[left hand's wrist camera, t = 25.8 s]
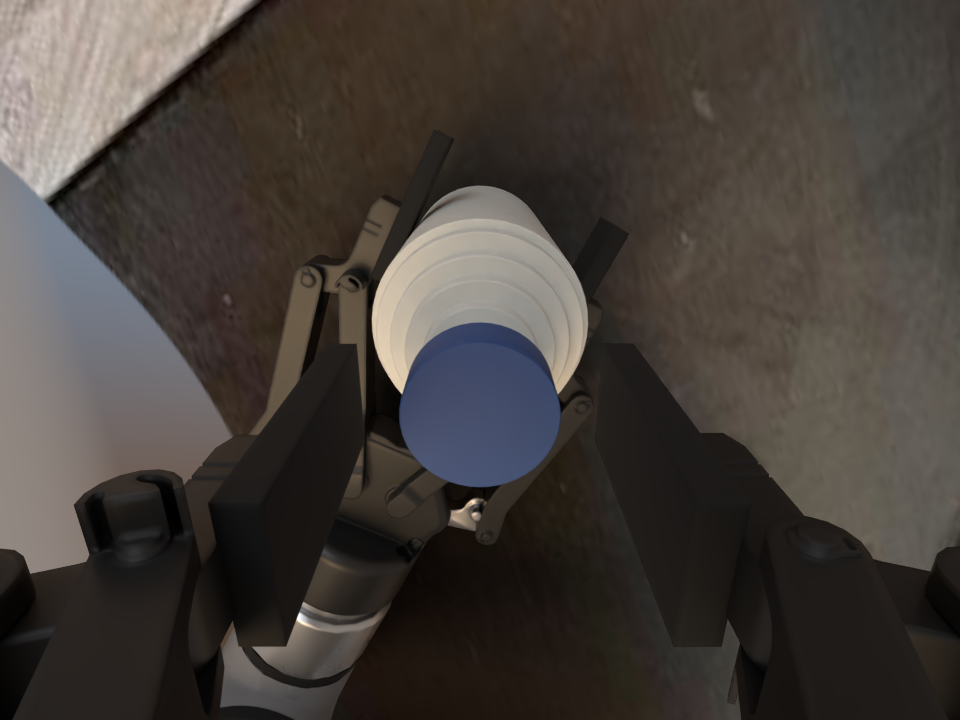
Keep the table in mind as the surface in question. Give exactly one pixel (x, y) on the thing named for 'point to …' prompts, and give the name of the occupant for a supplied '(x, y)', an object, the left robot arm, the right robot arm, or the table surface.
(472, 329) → the cap
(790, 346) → the table surface
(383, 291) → the bottle
